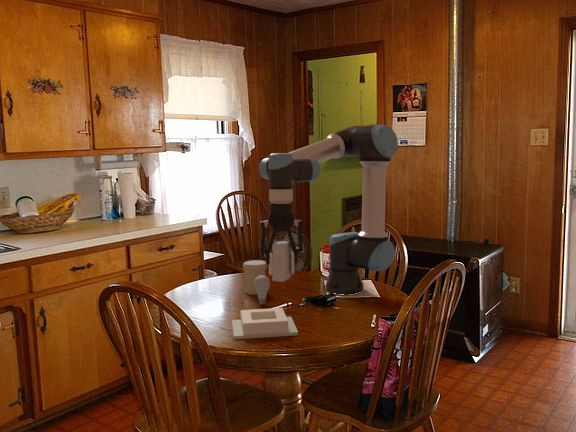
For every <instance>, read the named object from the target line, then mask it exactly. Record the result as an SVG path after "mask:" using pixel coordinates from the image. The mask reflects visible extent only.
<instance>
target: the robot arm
mask: <svg viewBox="0 0 576 432" xmlns="http://www.w3.org/2000/svg"><path fill="white" fill-rule="evenodd" d="M398 148H399V141H398V137H397V133H396V132H395V131H394V129H393V128H392V127H390V126H389V125H383V124H370V125H352V126H349V127H346V128H344V129H341V130H338V131H336V132H333V133H330V134H329V135H327V136H326V138H325V139H321V140H320V141H316V142H314V143H311V144H308V145H306V146H304V147H301V148H297V149H295V150H292V151H290V152H287V153H286V152H284V153H283V152H281V153H279V152H277V153H276V152H275V153H273V152H272V153H271V154H269V156H268V157H266V158H263V159H262V160H261V161H260V163H259V167H258V170H259V171H258V172H259V175H260V176H261V177H262V178H263V179H265V180H268V201H269V202H270V203H269V204H268V218H267V220H260V221H259V227H260V241H259V251H260V253H262V254H264V255H265V256H264V257H265V260H264V261H265V262H266V264H267V265H268V274H269V275H270V276H272V253H271V250H272V244H274V243H275V242H274V241H275V239H276V235H277V233H278V232H285V233H286V235H287V238H288V241H289V242H290V244H291V251H292V252H291V275H295V264H297V263H298V253H300V252H303V251H304V246H303V233H302V227H303V223H304V222H303V221H302V220H301V219H295V218H294V207H293V206H294V203H293V200H294V196H293V195H294V193H293V187H294V183H305V182H307V183H310V182H313V181H316V180H317V179H319V177H320V175H321V165H320V164H322V163H324V162H326V161H328V160H331V159H335V160H336V159H341V158H344V157H345V158H346V157H358V163H360V165H361V166H362V192H361V193H362V195H361V196H362V199H361V201H362V202H361V230H360V231H359V232H358V231H351V232H349V231H348V232H342V233H341V232H340V233H335V234H332V235H331V236H330V237H329V245H328V247H329V248H328V249H329V251H328V252H329V272H328V275H327V280H326V282H325V292H326V291H327V293H328V292H329V293H328V294H330V293H336V294H344V295H343V296H350V295H349V294H355V293H359V292H362V291H363V290H364V282H363V279H362V275H361V274H360V273H361V272H360V269H363V270H368V271H371V272H383V271H386V270H387V269H388V268H390V266H391V265H392V263H393V261H394V258H395V252H396V249H395V246H394V244H393V242H392V241H389V234H388V233H387V232H386V229H385V225H386V197H387V196H386V190H387V189H386V188H387V187H386V186H387V167H388V166H389V165H390V163H391V162H392V158H393V157H394V156H395V155H396V154H397V151H398ZM268 224H269V226H270V227H271V228H272V229H271V231H270V235H269V239H268V241H267V244H266V230H267V229H266V228H267V227H268ZM293 224H294V226H295V229H296V238H297V239H296V240H297V246H296V243H295V239H294V237H293V233H292V230H291V227H292V225H293ZM265 244H266V248H265ZM363 292H364V291H363ZM363 292H362V293H363ZM359 294H360V293H359ZM355 295H356V294H355Z"/></svg>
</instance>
